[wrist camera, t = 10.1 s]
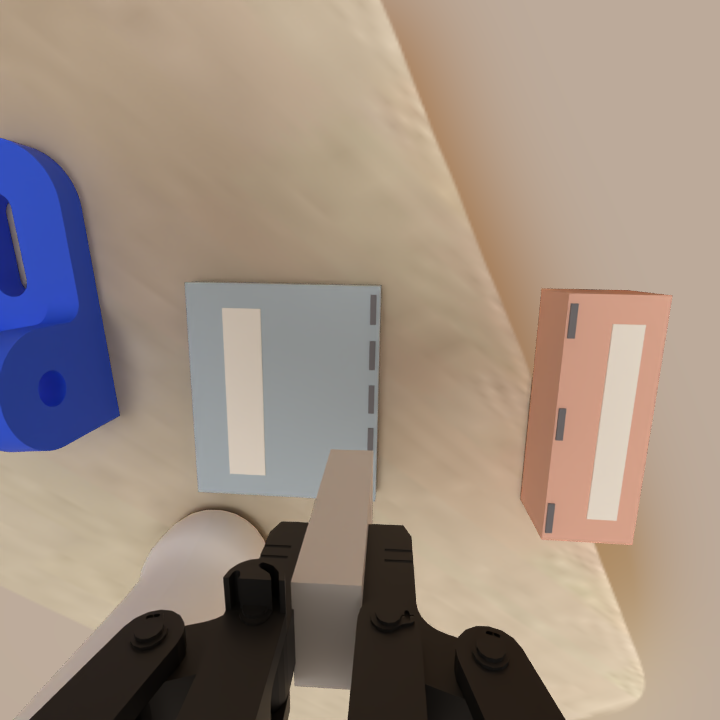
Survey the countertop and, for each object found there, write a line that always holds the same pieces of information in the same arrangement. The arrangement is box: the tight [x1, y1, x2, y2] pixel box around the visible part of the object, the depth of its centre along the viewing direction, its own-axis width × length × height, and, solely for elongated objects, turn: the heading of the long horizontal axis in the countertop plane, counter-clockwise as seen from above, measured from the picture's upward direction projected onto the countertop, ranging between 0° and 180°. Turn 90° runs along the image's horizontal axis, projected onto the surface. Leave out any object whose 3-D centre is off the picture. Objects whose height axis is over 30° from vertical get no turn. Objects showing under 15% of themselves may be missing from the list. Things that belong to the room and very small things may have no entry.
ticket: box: [185, 281, 381, 501], centre depth 29 cm, size 14×12×2 cm
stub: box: [521, 289, 672, 545], centre depth 26 cm, size 14×5×5 cm, turn 179°
